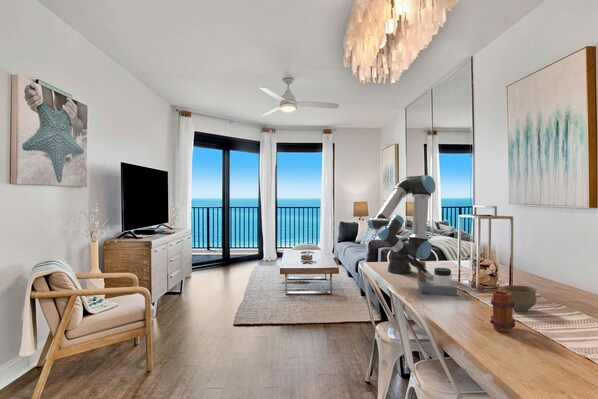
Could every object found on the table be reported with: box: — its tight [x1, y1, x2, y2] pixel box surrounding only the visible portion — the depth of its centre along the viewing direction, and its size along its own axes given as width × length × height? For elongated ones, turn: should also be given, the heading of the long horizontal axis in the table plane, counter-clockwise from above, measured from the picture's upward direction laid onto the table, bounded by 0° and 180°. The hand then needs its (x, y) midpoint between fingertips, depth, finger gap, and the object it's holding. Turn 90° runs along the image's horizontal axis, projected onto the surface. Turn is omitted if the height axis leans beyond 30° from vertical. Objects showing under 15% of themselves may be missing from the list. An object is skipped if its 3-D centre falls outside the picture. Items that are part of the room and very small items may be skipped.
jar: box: [433, 267, 453, 287], centre depth 176 cm, size 9×8×12 cm
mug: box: [489, 285, 516, 333], centre depth 128 cm, size 15×8×15 cm, turn 148°
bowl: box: [504, 284, 537, 312], centre depth 147 cm, size 13×13×10 cm
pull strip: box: [416, 260, 458, 297], centre depth 183 cm, size 26×18×12 cm
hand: (426, 274), depth 196 cm, fingers closed on pull strip, 5 cm apart
